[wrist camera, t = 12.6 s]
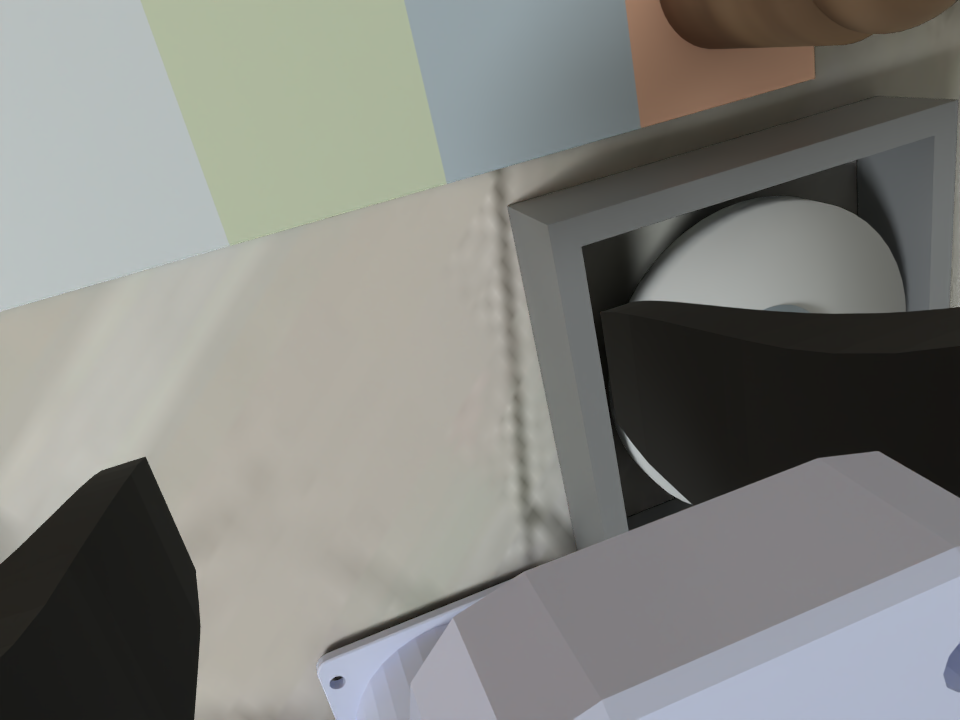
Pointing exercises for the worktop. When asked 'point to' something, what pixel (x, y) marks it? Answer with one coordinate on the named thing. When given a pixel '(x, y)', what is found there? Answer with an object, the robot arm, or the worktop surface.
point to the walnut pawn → (793, 21)
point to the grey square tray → (702, 183)
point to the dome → (773, 269)
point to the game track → (307, 113)
